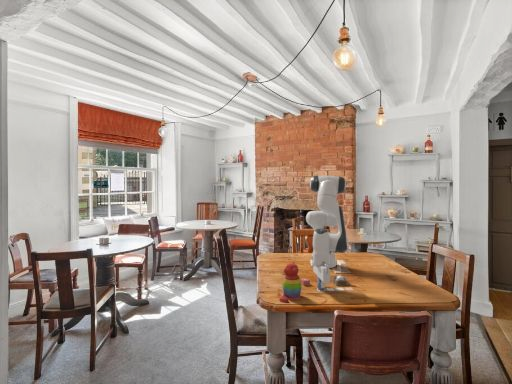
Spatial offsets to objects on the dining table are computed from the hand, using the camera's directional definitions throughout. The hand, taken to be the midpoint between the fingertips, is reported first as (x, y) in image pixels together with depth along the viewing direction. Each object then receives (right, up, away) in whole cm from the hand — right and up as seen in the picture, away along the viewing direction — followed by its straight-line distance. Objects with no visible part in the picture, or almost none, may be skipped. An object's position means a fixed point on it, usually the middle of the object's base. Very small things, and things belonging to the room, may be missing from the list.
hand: (321, 285), depth 156 cm
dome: (+13, -2, +10) cm, 16 cm away
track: (+7, -3, +1) cm, 8 cm away
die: (-7, -3, +8) cm, 12 cm away
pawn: (0, -2, 0) cm, 2 cm away
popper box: (+13, -3, +10) cm, 17 cm away
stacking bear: (-17, -4, -9) cm, 20 cm away
